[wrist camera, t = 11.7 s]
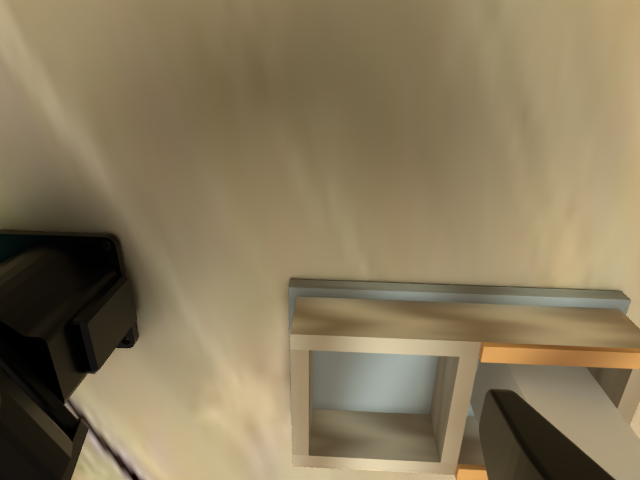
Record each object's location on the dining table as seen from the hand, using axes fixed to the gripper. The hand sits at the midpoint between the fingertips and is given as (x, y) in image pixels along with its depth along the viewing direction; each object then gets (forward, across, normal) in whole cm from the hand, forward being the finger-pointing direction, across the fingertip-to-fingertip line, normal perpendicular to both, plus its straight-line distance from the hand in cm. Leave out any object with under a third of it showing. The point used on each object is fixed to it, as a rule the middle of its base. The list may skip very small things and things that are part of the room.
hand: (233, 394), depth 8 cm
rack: (+13, -8, +10) cm, 18 cm away
